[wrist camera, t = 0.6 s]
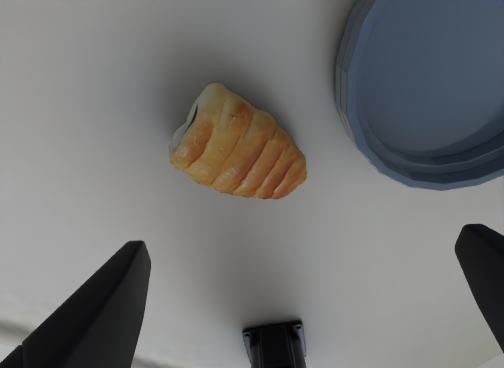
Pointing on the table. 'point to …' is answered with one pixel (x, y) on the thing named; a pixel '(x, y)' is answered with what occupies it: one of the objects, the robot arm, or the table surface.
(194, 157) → the pastry
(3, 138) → the table surface
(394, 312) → the table surface
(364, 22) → the glazed bowl
